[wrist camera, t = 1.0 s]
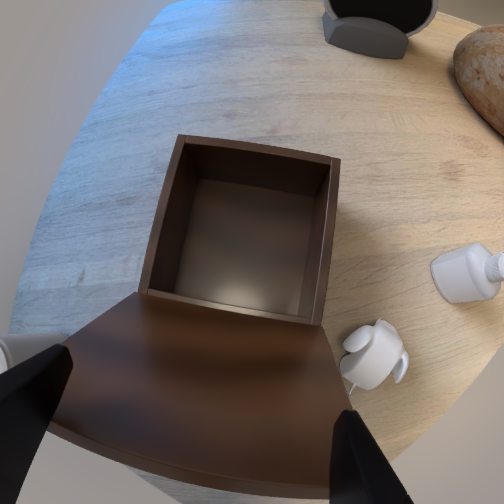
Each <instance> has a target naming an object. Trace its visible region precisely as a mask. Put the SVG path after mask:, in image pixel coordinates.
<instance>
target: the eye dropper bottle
mask: <svg viewBox="0 0 504 504" xmlns="http://www.w3.org/2000/svg"><path fill="white" fill-rule="evenodd" d="M431 272H432V277H433V280H434V283H435V285H436V287H437V289H438V291H439V292H440V293H441V295H442V296H443V297H444V298H445V299H446V300H447V301H448V302H450V303H453V304H455V303H467V302H477V301H485V300H490V299H492V298H493V297H495V295H496V294H497V293H498V292H499V290H500V288H501V281H504V252H503V253H499V254H496V255H492V253H491V252H490V251H489V250H488V249H487V248H486V247H484V246H483V245H482V244H480V243H474V244H471V245H468V246H465V247H462V248H459V249H456V250H453V251H451V252H448V253H445V254H442V255H440V256H438V257H437V258H436V259H435V260H434V261H433V262H432V263H431Z"/></svg>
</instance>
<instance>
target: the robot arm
mask: <svg viewBox="0 0 504 504" xmlns="http://www.w3.org/2000/svg"><path fill="white" fill-rule="evenodd" d="M72 369H73V360H72V357H71V354H70V351H69V349H68V347H67V346H65V345H62V344H59V343H57V344H54V345H52V346H51V347H49V348H47V349H45V350H43V351H41V352H39V353H38V354H36V355H34V356H32V357H30V358H28V359H27V360H25V361H23V362H21V363H19V364H17V365H16V366H14V367H12V368H10V369H8V370H6V371H5V372H3V373H1V374H0V504H16V501H17V498H18V496H19V493H20V490H21V487H22V485H23V482H24V480H25V477H26V475H27V472H28V470H29V468H30V465H31V463H32V460H33V458H34V456H35V454H36V452H37V449H38V447H39V445H40V443H41V441H42V438H43V436H44V434H45V432H46V430H47V428H48V426H49V424H50V421H51V419H52V417H53V415H54V413H55V411H56V409H57V407H58V405H59V403H60V400H61V398H62V395H63V393H64V390H65V387H66V385H67V382H68V380H69V377H70V374H71V372H72ZM329 504H414V503H413V501H412V500H411V498H410V496H409V495H408V494H407V491H406V490H405V488H404V487H403V485H402V483H401V482H400V480H399V478H398V477H397V475H396V474H395V472H394V471H393V469H392V467H391V466H390V464H389V462H388V460H387V459H386V457H385V456H384V454H383V452H382V451H381V449H380V447H379V446H378V444H377V443H376V441H375V439H374V438H373V436H372V434H371V433H370V431H369V430H368V428H367V426H366V425H365V423H364V422H363V420H362V418H361V417H360V415H359V413H358V412H357V411H356V410H348V409H345V410H343V411H342V412H341V414H340V415H339V417H338V419H337V420H336V422H335V424H334V427H333V437H332V448H331V457H330V467H329Z"/></svg>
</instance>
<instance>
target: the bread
mask: <svg viewBox="0 0 504 504" xmlns="http://www.w3.org/2000/svg"><path fill="white" fill-rule="evenodd" d="M453 63H454V71H455V75H456V79H457V82H458V85H459V87H460V88H461V90H462V92H463V95H464V96H465V97H466V98H467V100H468V101H469V102H470V104H471V105H472V106H473V107H474V109H475V110H476V111H477V112H478V113H479V114H480V115H481V116H482V117H483V118H484V119H485V120H486V121H487V122H488V123H489V124H490V125H491V126H492V127H493V128H495V129H496V130H497V131H498V132H499V133H500V134H501V135H502V136H503V137H504V25H500V24H495V25H489V26H485V27H482V28H480V29H477V30H476V31H474V32H472V33H470V34H468V35H467V36H466V37H465V38H464V39H462V40H461V41H460V42H459V43H458V44H457V46H456V48H455V51H454V54H453Z"/></svg>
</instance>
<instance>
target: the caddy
mask: <svg viewBox="0 0 504 504" xmlns="http://www.w3.org/2000/svg"><path fill="white" fill-rule="evenodd" d="M340 163H341V159H339V158H334V157H332V158H331V157H329V156H325V155H320V154H315V153H310V152H304V151H299V150H293V149H288V148H282V147H276V146H270V145H263V144H257V143H250V142H243V141H235V140H227V139H219V138H210V137H201V136H191V135H181V134H178V136H177V139H176V143H175V146H174V149H173V152H172V155H171V159H170V162H169V165H168V169H167V172H166V176H165V179H164V183H163V186H162V190H161V194H160V197H159V201H158V205H157V209H156V213H155V217H154V221H153V225H152V229H151V233H150V237H149V241H148V246H147V250H146V255H145V259H144V264H143V268H142V273H141V278H140V283H139V288H138V293H143V294H147V295H152V296H156V297H161V298H165V299H170V300H175V301H179V302H184V303H189V304H194V305H199V306H204V307H209V308H214V309H219V310H225V311H230V312H235V313H241V314H247V315H252V316H258V317H264V318H270V319H276V320H282V321H289V322H295V323H302V324H308V325H315V326H321V322H322V316H323V310H324V303H325V297H326V290H327V283H328V276H329V269H330V262H331V254H332V246H333V237H334V229H335V219H336V210H337V199H338V188H339V176H340Z"/></svg>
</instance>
